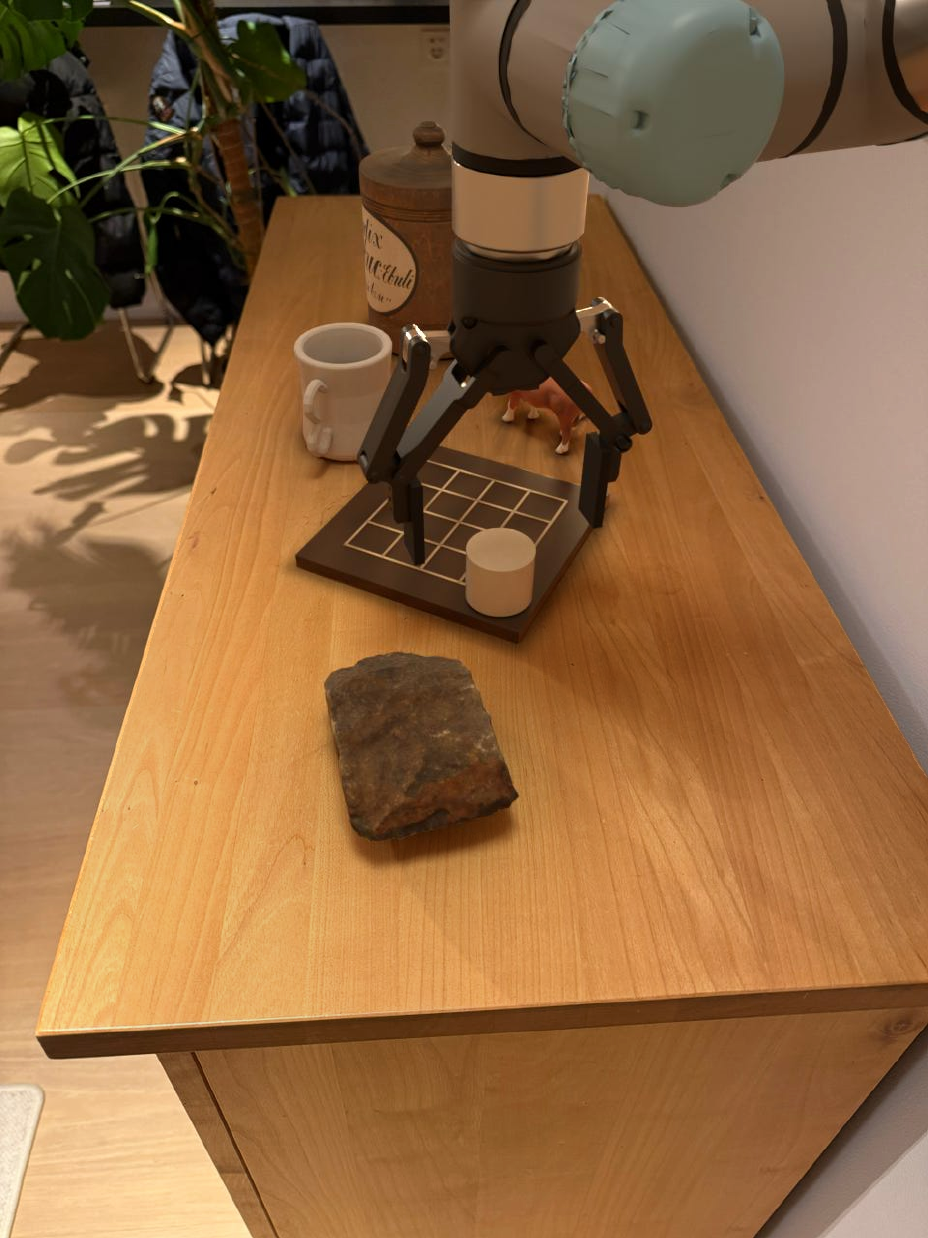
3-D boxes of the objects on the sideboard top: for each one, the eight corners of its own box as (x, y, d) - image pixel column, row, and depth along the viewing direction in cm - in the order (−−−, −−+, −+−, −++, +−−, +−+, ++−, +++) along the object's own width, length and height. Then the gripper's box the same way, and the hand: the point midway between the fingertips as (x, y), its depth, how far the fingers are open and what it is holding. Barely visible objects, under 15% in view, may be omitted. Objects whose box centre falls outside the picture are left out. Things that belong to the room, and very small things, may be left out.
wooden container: (358, 311, 110) (343, 108, 95) (475, 297, 113) (479, 99, 98) (384, 368, 100) (372, 150, 85) (513, 351, 103) (523, 139, 88)
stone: (467, 681, 66) (461, 619, 62) (524, 831, 55) (521, 767, 52) (330, 713, 65) (315, 651, 61) (361, 873, 54) (345, 810, 50)
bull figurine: (511, 393, 96) (515, 319, 90) (596, 450, 88) (606, 373, 83) (478, 405, 94) (479, 330, 89) (562, 464, 86) (570, 386, 81)
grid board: (608, 504, 82) (610, 492, 81) (518, 644, 69) (519, 631, 68) (413, 448, 88) (412, 436, 87) (296, 566, 75) (294, 553, 74)
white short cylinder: (542, 584, 72) (546, 539, 68) (515, 625, 68) (518, 579, 65) (483, 565, 73) (484, 520, 70) (453, 604, 70) (453, 558, 67)
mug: (330, 407, 93) (321, 314, 87) (412, 425, 91) (409, 330, 84) (270, 471, 85) (254, 373, 78) (358, 492, 83) (350, 393, 76)
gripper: (680, 194, 57) (636, 477, 72) (287, 238, 52) (324, 537, 66) (743, 235, 52) (682, 532, 67) (314, 289, 46) (348, 603, 61)
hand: (504, 535), depth 66 cm, fingers open, 13 cm apart
